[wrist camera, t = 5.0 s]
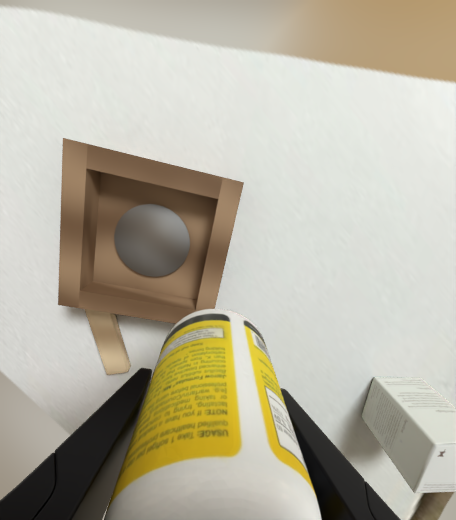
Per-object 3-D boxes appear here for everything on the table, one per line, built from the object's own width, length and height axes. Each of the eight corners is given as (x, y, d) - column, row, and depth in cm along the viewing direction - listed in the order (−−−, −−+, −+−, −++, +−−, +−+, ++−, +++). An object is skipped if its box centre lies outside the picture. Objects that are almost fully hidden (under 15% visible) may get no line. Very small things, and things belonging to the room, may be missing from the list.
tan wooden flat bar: (130, 365, 22) (127, 371, 22) (110, 368, 22) (107, 375, 22) (108, 294, 20) (104, 298, 19) (86, 297, 20) (81, 301, 19)
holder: (210, 312, 21) (209, 328, 19) (79, 290, 20) (58, 304, 17) (239, 184, 18) (243, 182, 16) (86, 147, 17) (62, 137, 14)
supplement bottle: (149, 372, 11) (-52, 909, 3) (187, 289, 10) (32, 789, 2) (238, 400, 11) (290, 882, 3) (282, 327, 10) (512, 792, 2)
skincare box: (359, 416, 27) (412, 496, 20) (372, 375, 25) (436, 445, 18) (406, 416, 27) (474, 494, 20) (422, 376, 26) (502, 444, 18)
